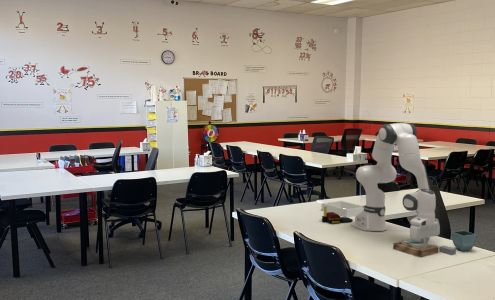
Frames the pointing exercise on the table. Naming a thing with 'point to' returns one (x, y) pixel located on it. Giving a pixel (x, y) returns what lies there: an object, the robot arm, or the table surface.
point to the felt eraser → (447, 250)
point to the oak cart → (414, 244)
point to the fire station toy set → (334, 218)
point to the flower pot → (463, 240)
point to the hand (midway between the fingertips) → (424, 245)
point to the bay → (415, 250)
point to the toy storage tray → (338, 209)
